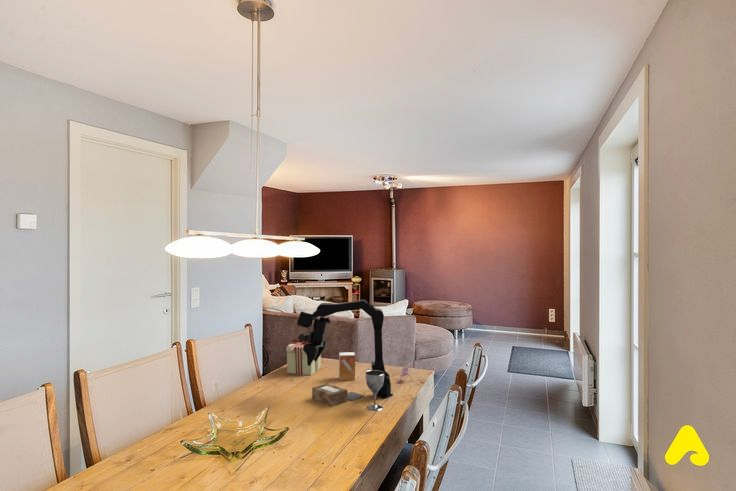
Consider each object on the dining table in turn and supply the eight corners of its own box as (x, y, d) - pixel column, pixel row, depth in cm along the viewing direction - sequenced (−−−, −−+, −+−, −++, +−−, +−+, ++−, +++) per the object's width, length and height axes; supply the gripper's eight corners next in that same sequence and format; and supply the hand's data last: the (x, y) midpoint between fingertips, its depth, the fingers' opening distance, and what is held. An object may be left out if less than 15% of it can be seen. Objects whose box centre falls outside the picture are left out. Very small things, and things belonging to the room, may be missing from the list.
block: (340, 394, 188) (340, 390, 188) (333, 397, 185) (333, 392, 185) (326, 390, 194) (326, 385, 194) (319, 392, 191) (320, 387, 191)
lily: (405, 377, 226) (396, 362, 225) (423, 372, 220) (414, 356, 219) (397, 391, 215) (388, 375, 215) (416, 386, 210) (407, 369, 209)
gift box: (283, 375, 225) (283, 343, 225) (295, 366, 243) (295, 336, 243) (314, 377, 222) (314, 344, 222) (324, 367, 240) (324, 337, 240)
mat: (364, 396, 194) (364, 395, 194) (352, 401, 188) (352, 400, 188) (352, 392, 200) (352, 391, 200) (339, 396, 194) (339, 395, 194)
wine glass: (387, 407, 181) (388, 372, 181) (375, 413, 175) (375, 376, 175) (374, 402, 186) (374, 368, 186) (361, 407, 180) (361, 372, 180)
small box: (339, 380, 217) (339, 355, 217) (338, 377, 223) (338, 352, 223) (355, 380, 218) (355, 354, 218) (354, 376, 224) (354, 351, 224)
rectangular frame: (347, 401, 188) (347, 389, 188) (332, 406, 182) (332, 395, 182) (327, 393, 197) (327, 383, 197) (312, 399, 191) (312, 387, 191)
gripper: (309, 323, 207) (302, 354, 207) (295, 329, 188) (288, 363, 188) (330, 328, 205) (323, 360, 204) (319, 335, 186) (311, 370, 186)
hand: (311, 363), depth 196 cm, fingers open, 9 cm apart
